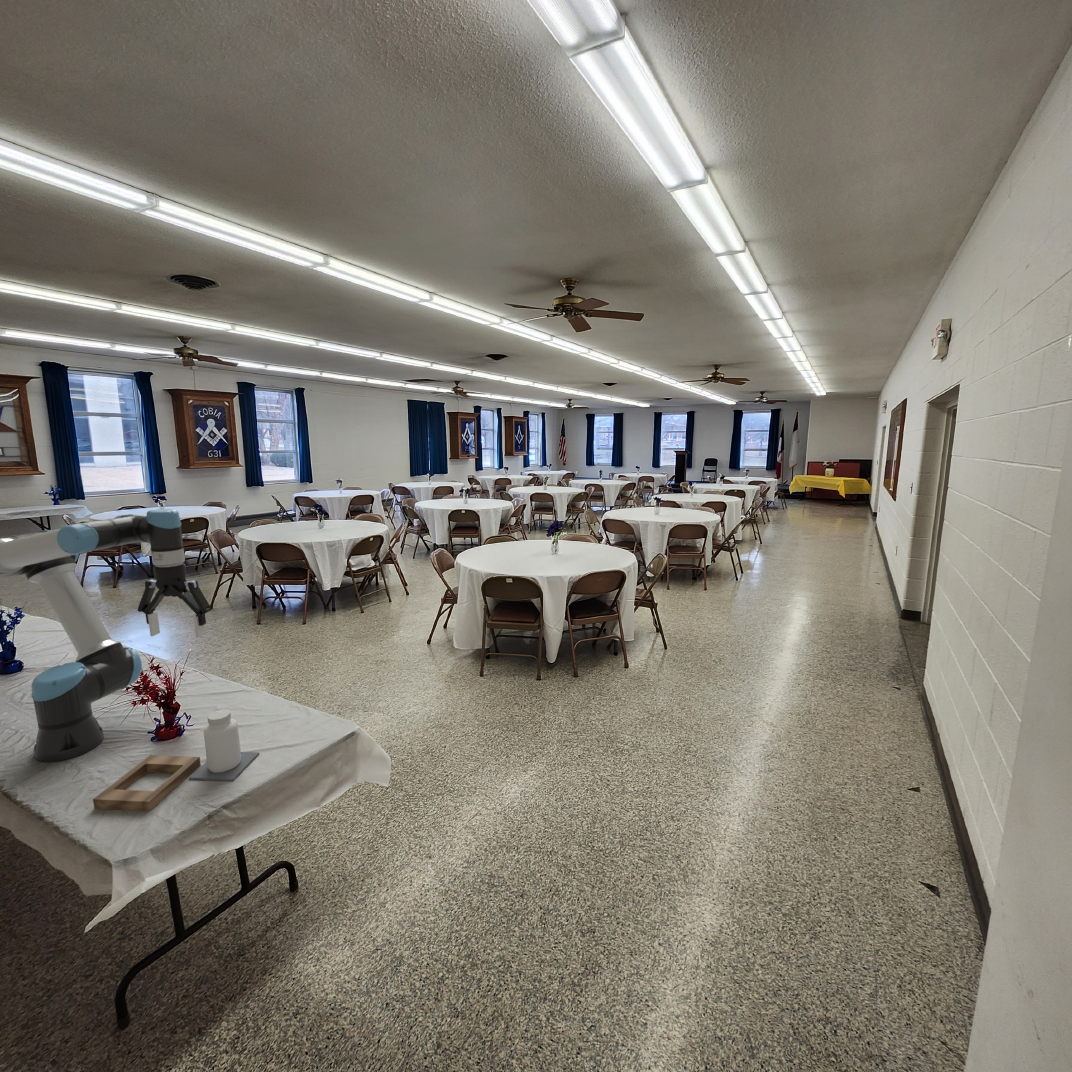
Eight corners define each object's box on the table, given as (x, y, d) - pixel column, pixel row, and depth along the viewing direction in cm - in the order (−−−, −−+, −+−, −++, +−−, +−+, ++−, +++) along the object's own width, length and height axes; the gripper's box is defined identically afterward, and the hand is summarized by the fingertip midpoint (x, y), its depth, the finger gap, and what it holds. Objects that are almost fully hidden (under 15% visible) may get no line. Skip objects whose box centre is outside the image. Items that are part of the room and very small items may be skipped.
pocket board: (94, 808, 127) (92, 799, 127) (151, 763, 145) (150, 754, 145) (150, 810, 127) (148, 801, 126) (200, 765, 144) (199, 756, 144)
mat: (188, 779, 139) (188, 777, 138) (218, 752, 150) (218, 750, 150) (233, 781, 138) (233, 779, 138) (259, 754, 150) (259, 752, 150)
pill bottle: (203, 776, 139) (197, 723, 136) (212, 758, 147) (207, 708, 144) (237, 771, 141) (232, 719, 139) (244, 754, 149) (239, 704, 146)
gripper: (115, 566, 146) (126, 638, 150) (203, 568, 145) (211, 641, 149) (137, 560, 153) (146, 629, 157) (220, 561, 152) (227, 631, 156)
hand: (177, 635), depth 153 cm, fingers open, 13 cm apart
